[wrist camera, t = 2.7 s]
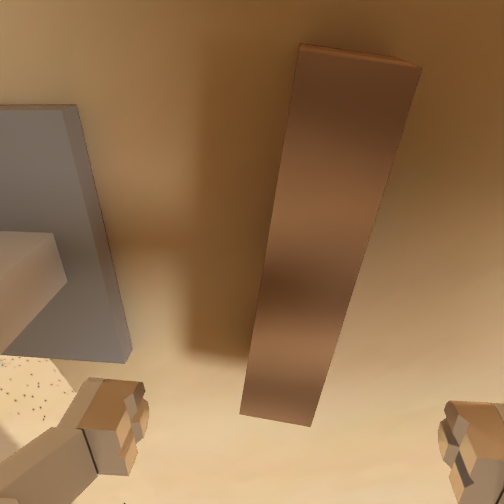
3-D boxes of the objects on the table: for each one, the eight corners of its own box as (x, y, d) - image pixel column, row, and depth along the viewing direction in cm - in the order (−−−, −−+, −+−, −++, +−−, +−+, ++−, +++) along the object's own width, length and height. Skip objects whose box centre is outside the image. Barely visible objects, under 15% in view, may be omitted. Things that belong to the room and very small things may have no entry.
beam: (300, 43, 15) (298, 50, 11) (392, 56, 15) (422, 68, 11) (250, 349, 23) (239, 414, 19) (309, 359, 23) (310, 426, 19)
